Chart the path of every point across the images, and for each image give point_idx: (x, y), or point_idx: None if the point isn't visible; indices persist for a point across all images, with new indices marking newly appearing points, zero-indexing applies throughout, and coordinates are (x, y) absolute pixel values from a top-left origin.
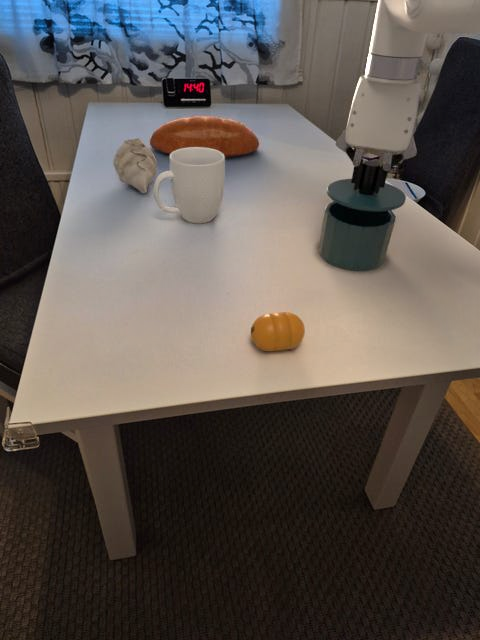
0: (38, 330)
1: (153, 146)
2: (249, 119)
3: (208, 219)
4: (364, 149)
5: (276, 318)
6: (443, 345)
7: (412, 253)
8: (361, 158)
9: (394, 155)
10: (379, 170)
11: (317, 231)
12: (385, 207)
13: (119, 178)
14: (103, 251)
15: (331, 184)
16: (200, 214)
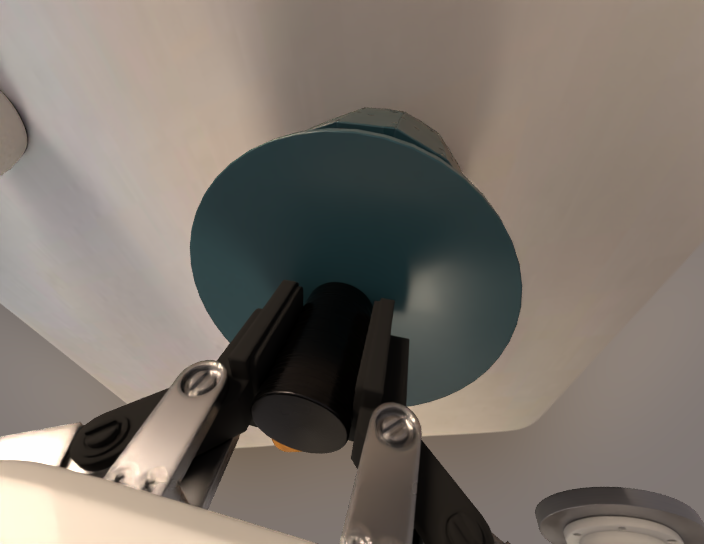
0: (120, 398)
1: None
2: None
3: (22, 147)
4: (187, 468)
5: (289, 450)
6: (499, 408)
7: (561, 146)
8: (224, 460)
9: (420, 528)
10: (351, 440)
11: (267, 86)
12: (408, 405)
13: None
14: (23, 286)
15: (196, 260)
16: (2, 173)
